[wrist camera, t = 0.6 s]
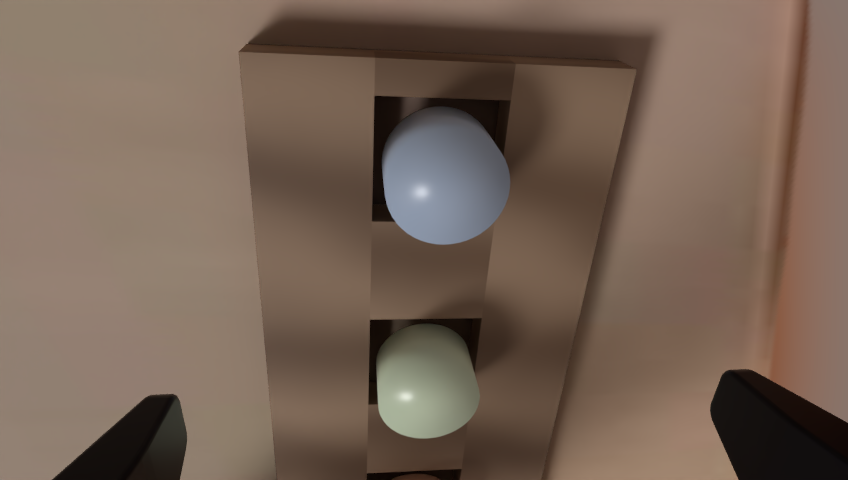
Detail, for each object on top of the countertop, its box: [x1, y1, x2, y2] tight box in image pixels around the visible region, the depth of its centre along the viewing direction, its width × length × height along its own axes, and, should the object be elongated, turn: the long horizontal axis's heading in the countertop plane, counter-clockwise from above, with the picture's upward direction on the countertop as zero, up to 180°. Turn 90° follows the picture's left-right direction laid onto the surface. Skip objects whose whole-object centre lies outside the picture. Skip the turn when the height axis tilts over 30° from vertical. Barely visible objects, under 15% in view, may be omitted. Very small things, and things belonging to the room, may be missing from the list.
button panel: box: [239, 44, 637, 480], centre depth 25 cm, size 25×13×2 cm, turn 176°
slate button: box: [382, 106, 510, 245], centre depth 19 cm, size 4×4×2 cm
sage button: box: [376, 323, 480, 438], centre depth 23 cm, size 4×4×2 cm
